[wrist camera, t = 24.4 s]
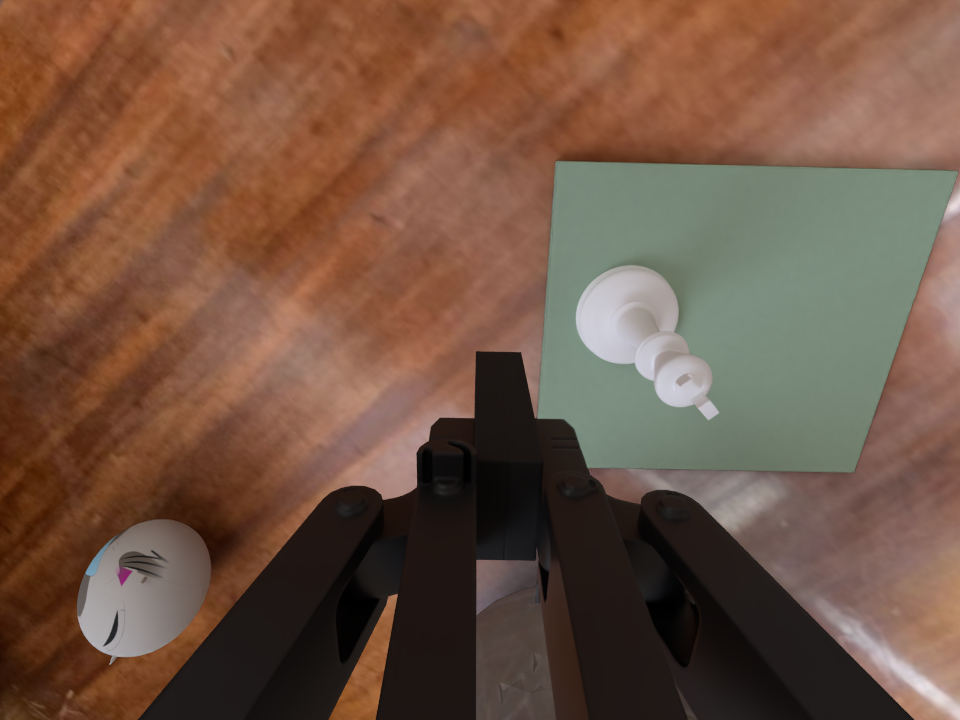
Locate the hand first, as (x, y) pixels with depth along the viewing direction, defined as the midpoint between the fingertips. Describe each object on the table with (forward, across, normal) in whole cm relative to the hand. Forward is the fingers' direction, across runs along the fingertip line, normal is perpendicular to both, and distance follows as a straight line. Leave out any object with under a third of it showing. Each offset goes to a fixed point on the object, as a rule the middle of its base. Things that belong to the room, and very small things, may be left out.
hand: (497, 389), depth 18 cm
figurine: (+10, -18, -15) cm, 25 cm away
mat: (+9, +12, -1) cm, 15 cm away
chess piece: (+9, +7, 0) cm, 11 cm away
